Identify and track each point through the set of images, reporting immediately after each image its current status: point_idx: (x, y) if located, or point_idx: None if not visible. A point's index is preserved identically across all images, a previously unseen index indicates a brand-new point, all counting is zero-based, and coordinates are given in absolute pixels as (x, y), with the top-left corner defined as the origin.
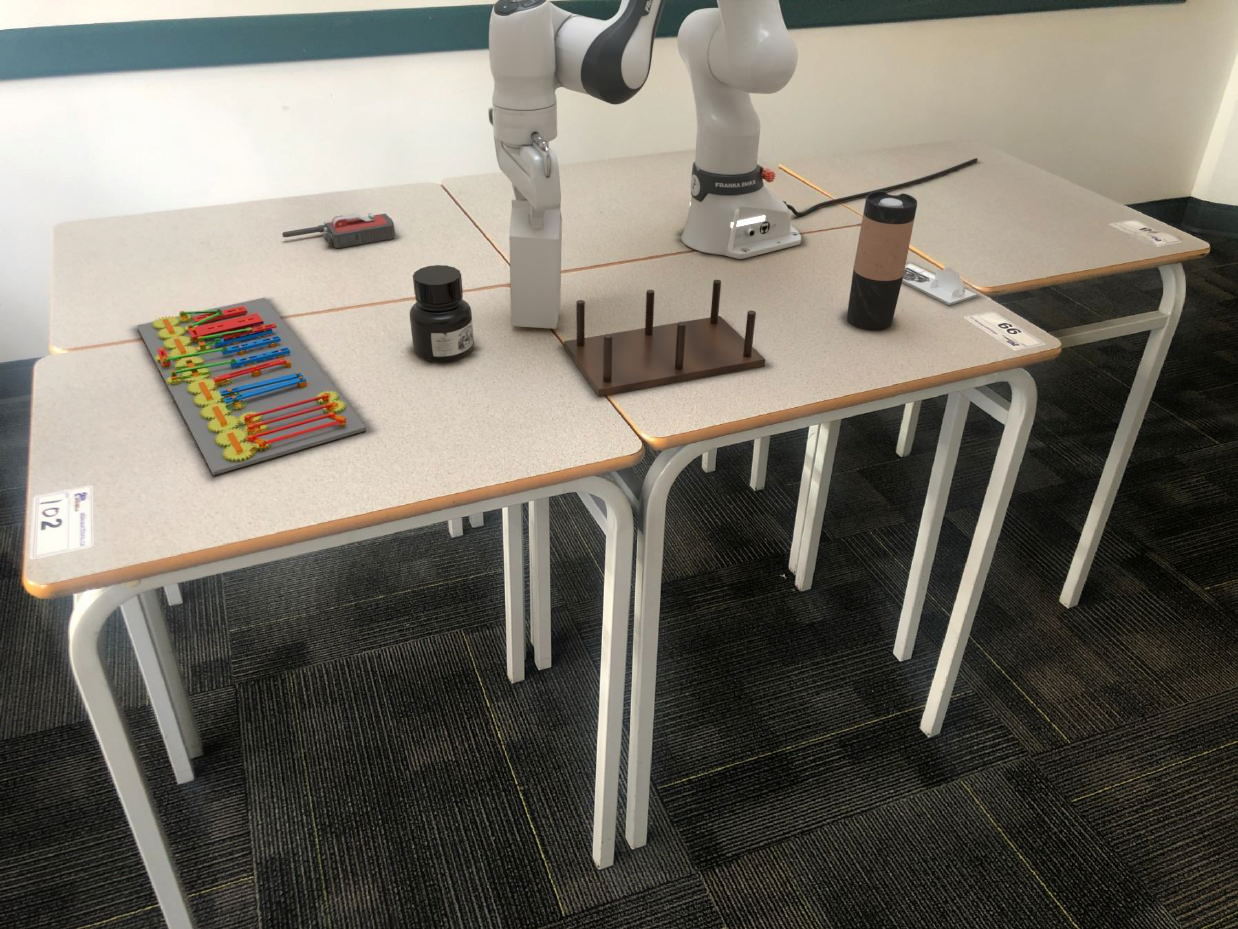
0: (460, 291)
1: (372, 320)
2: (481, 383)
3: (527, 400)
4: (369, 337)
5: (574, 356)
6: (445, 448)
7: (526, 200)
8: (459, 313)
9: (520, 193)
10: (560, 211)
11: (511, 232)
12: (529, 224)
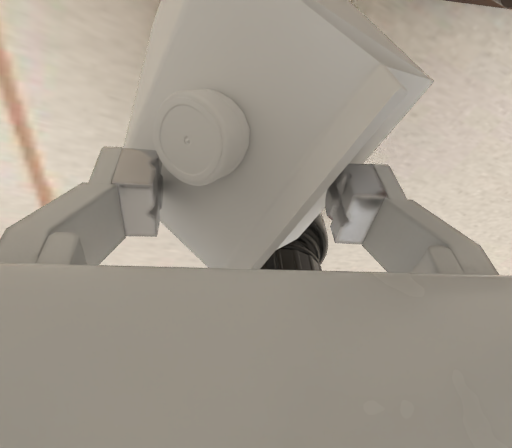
0: (313, 264)
1: (124, 254)
2: (397, 180)
3: (494, 139)
4: (180, 264)
5: (476, 4)
6: (491, 249)
7: (135, 197)
8: (319, 240)
9: (97, 241)
10: (350, 42)
11: (293, 237)
12: (326, 204)
